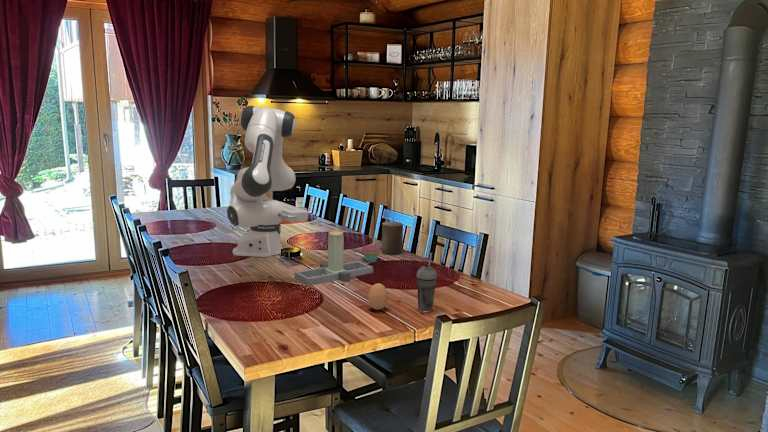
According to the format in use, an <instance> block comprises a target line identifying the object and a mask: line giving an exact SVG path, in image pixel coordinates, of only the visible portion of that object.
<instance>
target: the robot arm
mask: <svg viewBox="0 0 768 432" xmlns="http://www.w3.org/2000/svg"><path fill="white" fill-rule="evenodd" d="M239 122H240V127H241V128H242V129H243V130H244V131H245V135H244V146H245V148H246V149H247V150H248V151H249V152H250V153H252V155H253V156H252V161H251V165H250V166H248V167H245V168H243V167H242V168H241V169H240V170H239V171H238V173H237V174H236V181H235V182H234V184H232V186H231V189H230V192H229V193H230V202H229V205H228V207H227V209H226V214H227V218H228V220H229V222H230V224H231V225H233V226H235V227H238V228H249V230H248V231H246V232H245V233H244V234H243V235H241V236H240V237H239V238H238V241H237V246H235V247H234V248H233V249H232V252H231V253H233V254H232V255H233V256H239V257H255V258H256V257H258V258H268V257H272V256H276V255H281V254H282V253H281V249H283V250H284V248H283V245H282V240H281V232H282V224H281V222H282V221H283V220H285V221H288V222H307V221H308V220H309V211H308V208H306V207H303V206H295V205H291V204H289V203H286V202H283V201H279V200H277V199H273V198H270V197H268V196H267V192H276V191H277V192H278V191H279V192H282V191H287V190H291V189H292V188H293V187H294V186H295V183H296V180H297V179H296V174H295V173H296V172H295V171H294V170H293V168H291V167H289V165H288V164H286V162H285V160H284V157H283V146H284V145H283V142H284V138H290V137H291V136H292V135H293V133H294V132H295V130H296V127H297V121H296V117H295V115H294V114H293V113H292V112H290V111H287V110H286V111H284V110H282V109H278V108H272V107H263V106H254V105H246V106H245V107H244V108H243V109H242V111H241V113H240V116H239Z"/></svg>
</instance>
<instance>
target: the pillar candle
mask: <svg viewBox="0 0 768 432" xmlns="http://www.w3.org/2000/svg"><path fill="white" fill-rule="evenodd" d="M381 228H382V230H381V253H382V254H385V255H391V256H396V255H401V254H403V244H404V243H403V241H404V240H403V237H404V223H402V222H399V221H385V222H382V227H381Z"/></svg>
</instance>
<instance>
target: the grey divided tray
mask: <svg viewBox="0 0 768 432" xmlns="http://www.w3.org/2000/svg"><path fill="white" fill-rule="evenodd" d="M325 268H328V262H323V263H322V262H321V263H319V267H317V268H311V269H306V270H299V271H295V272H294V273H293V274H294V279H295V280H297V281H299V282H300V283H303V284H304V285H306V286H313V285H317V284H322V283H323V284H324V283H329V282H333V281H341V282H343V283H345V282H346V283H347V282H350V281H351V278H354V277H358V276H364V275H370V274H373V273H374V266H372V265H369V264H368V263H364V262H362V261H359V260H357V261H351V262H345V263H344V262H343V269H344V270H346V271H342V272H338V273H332V274H325V273H324V269H325Z"/></svg>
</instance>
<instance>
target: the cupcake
mask: <svg viewBox="0 0 768 432" xmlns="http://www.w3.org/2000/svg"><path fill="white" fill-rule="evenodd" d="M376 237H377V236H376V234H374V236H373V241H372V244H365V245H363V246H362V247H361V248H360V249H361V251H360V253H361V254H363V257H364V261H366V262H371V263H372V262H373V263H374V262H376V261H377V260H378V256H379V254H380V253H381V252H382V248H380V247H379V246H378V245H376V244H375V242H376Z"/></svg>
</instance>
